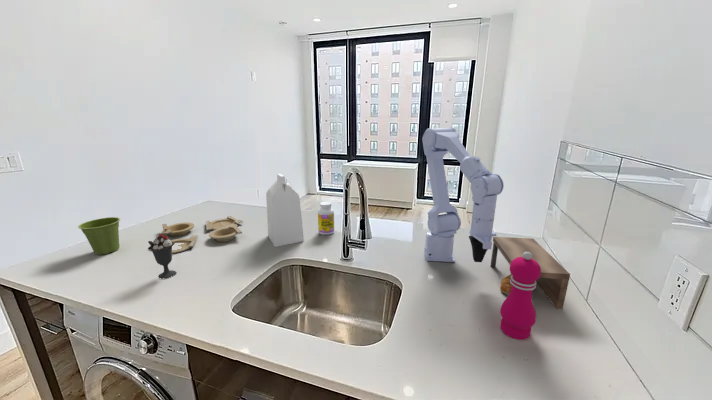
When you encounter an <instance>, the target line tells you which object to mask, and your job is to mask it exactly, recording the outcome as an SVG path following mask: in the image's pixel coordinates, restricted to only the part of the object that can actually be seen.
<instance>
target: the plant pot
mask: <svg viewBox="0 0 712 400" xmlns="http://www.w3.org/2000/svg"><path fill="white" fill-rule="evenodd" d="M120 221H121V217H118V216H117V217H116V216H115V217H114V216H112V217H111V216H110V217H101V218H96V219H92V220H89V221H85V222H82V223H81V224H79V225H78V226H77V228H78V229H80V230H81V232H82V233H83V234H84V236H85V238H86V239H87V241H88V243H89V245H90V247H91V248H92V251H93V253H94V254H95V255H97V256H98V255H99V256H100V255H101V256H102V255H108V254H110V253H114V252H116V251H118V250H119V249H120V235H119V234H120V233H119V232H120V231H119V227H120Z"/></svg>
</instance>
